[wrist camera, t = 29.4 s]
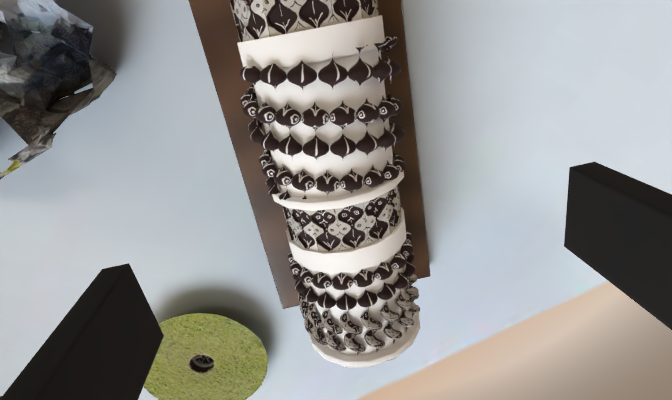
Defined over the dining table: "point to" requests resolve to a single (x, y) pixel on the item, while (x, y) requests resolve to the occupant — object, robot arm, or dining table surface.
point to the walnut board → (225, 69)
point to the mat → (206, 360)
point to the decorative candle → (333, 168)
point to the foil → (45, 72)
